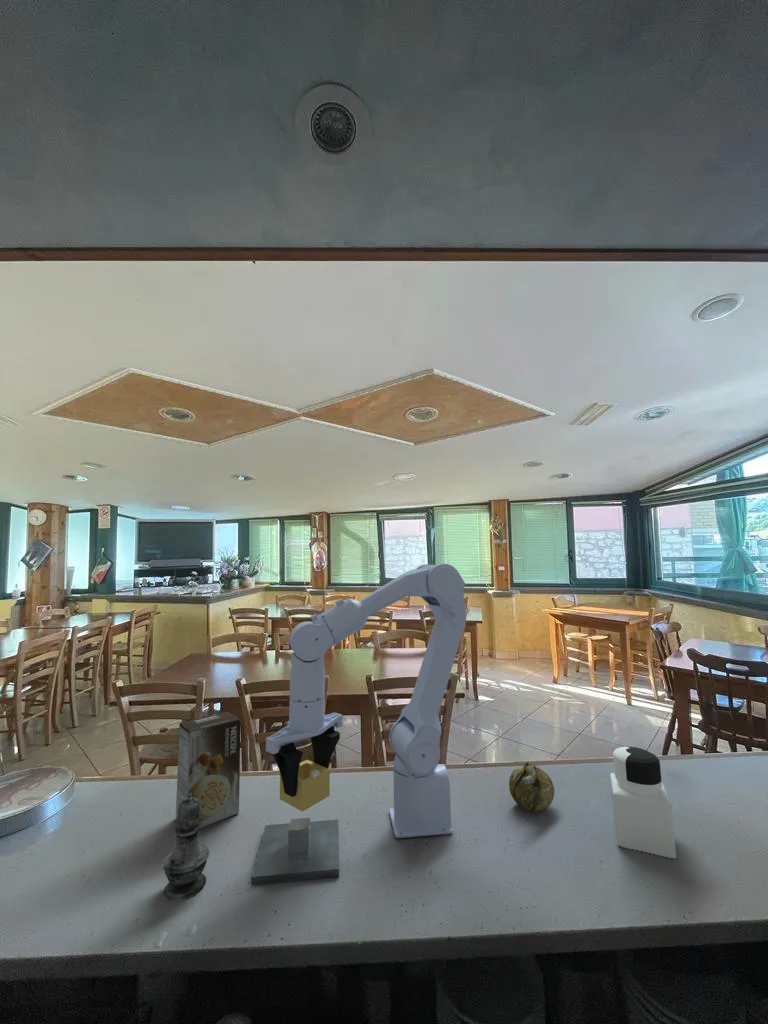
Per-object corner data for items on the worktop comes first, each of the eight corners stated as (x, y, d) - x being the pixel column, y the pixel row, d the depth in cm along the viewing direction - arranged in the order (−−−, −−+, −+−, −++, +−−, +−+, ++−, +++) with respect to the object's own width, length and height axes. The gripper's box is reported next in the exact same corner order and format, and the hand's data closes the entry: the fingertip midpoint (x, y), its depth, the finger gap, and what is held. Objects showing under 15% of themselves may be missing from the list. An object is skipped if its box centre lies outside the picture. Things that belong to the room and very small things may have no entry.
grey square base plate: (338, 825, 71) (338, 800, 72) (339, 876, 59) (339, 845, 60) (265, 831, 70) (266, 805, 70) (251, 885, 58) (252, 853, 58)
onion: (565, 815, 73) (562, 766, 75) (525, 822, 72) (522, 772, 73) (539, 793, 81) (537, 748, 82) (502, 799, 79) (500, 753, 80)
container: (667, 831, 69) (659, 746, 70) (677, 861, 62) (668, 766, 64) (613, 820, 72) (607, 739, 74) (617, 847, 65) (610, 757, 67)
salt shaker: (190, 906, 54) (194, 805, 56) (150, 899, 56) (156, 801, 57) (217, 874, 60) (220, 783, 62) (180, 868, 61) (185, 780, 63)
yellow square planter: (307, 784, 72) (307, 755, 72) (329, 795, 68) (329, 765, 69) (279, 799, 67) (280, 768, 68) (302, 811, 64) (302, 779, 64)
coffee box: (226, 799, 80) (229, 710, 82) (239, 813, 75) (242, 718, 77) (173, 818, 74) (178, 721, 76) (185, 835, 69) (190, 731, 71)
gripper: (323, 683, 78) (322, 762, 76) (255, 703, 66) (252, 796, 65) (351, 690, 73) (350, 774, 71) (283, 712, 62) (280, 812, 60)
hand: (305, 786), depth 68 cm, fingers closed on yellow square planter, 6 cm apart
